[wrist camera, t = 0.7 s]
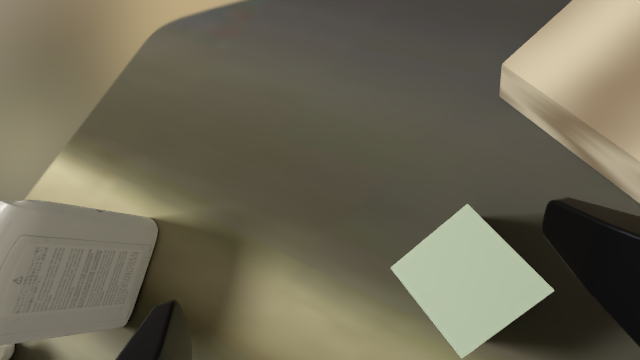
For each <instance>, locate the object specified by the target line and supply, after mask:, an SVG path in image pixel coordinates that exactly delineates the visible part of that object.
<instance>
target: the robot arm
mask: <svg viewBox="0 0 640 360" xmlns="http://www.w3.org/2000/svg"><path fill="white" fill-rule="evenodd" d="M541 230H542V233H543V235H544V237H545V238H546V239H547V240H548V242H549V243H550V244H551V246H552V247H553V248H554V249H555V251H556V252H557V253H558V255H559V256H560V257H561V258H562V260H563V261H564V262H565V264H566V265H567V266H568V267H569V269H570V270H571V271H572V273H573V274H574V275H575V276H576V278H577V279H578V280H579V281H580V283H581V284H582V285H583V286H584V288H585V289H586V290H587V291H588V292H589V293H590V294H591V295H592V296H593V298H594V299H595V300H596V301H597V302H598V303H599V304H600V305H601V306H602V307H603V308H604V309H605V310H606V311H607V313H608V314H609V315H610V316H611V317H612V318H613V319H614V320H615V321H616V322H617V323H618V324H619V325H620V327H621V328H622V329H623V330H624V331H625V332H626V333H627V334H628V335H629V336H630V337H631V338H632V339H633V341H634V342H635V343H636V344H637V345H638V346H639V347H640V216H636V215H633V214H629V213H625V212H622V211H618V210H614V209H611V208H607V207H603V206H599V205H596V204H592V203H588V202H585V201H581V200H577V199H574V198H570V197H562V198H559V199H555V200H551V201H550V202H549V203H548V204H547V207H546V210H545V214H544V217H543V221H542V225H541ZM116 360H192V344H191V329H190V325H189V322H188V320H187V318H186V316H185V314H184V312H183V310H182V308H181V306H180V304H179V303H178V302H177V301H176V300H171V301H168V302H164V303H160V304H157V305H156V306H155V307H154V308H153V309H152V310H151V311H150V313H149V314H148V316H147V317H146V318H145V320H144V321H143V322H142V324H141V325H140V327H139V328H138V329H137V331H136V332H135V334H134V335H133V336H132V338H131V339H130V340H129V342H128V343H127V345H126V346H125V347H124V349H123V350H122V351H121V353H120V354H119V356H118V357H117V358H116Z"/></svg>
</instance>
